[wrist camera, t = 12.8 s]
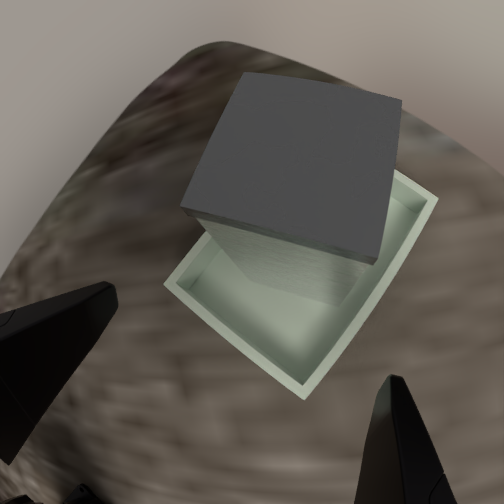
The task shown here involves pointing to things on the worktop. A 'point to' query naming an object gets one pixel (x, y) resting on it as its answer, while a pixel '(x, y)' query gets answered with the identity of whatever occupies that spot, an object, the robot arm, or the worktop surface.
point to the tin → (298, 183)
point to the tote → (296, 298)
